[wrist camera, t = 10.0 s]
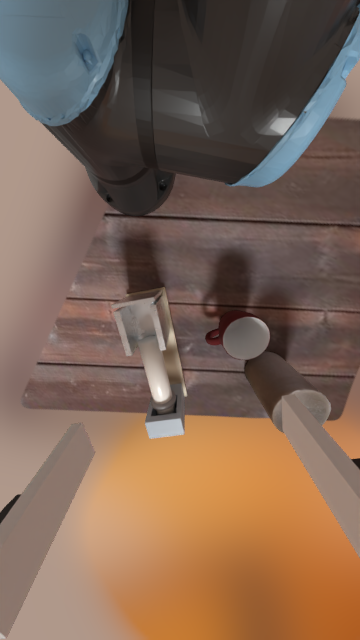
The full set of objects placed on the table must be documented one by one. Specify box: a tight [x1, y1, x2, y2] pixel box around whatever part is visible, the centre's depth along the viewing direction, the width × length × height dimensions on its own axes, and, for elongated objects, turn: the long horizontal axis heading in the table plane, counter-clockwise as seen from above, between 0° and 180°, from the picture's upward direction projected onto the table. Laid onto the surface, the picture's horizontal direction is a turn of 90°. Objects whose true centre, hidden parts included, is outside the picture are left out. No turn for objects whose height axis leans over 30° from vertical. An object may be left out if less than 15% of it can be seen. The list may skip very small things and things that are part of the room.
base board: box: [126, 287, 187, 396], centre depth 41 cm, size 28×8×1 cm, turn 10°
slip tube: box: [138, 336, 176, 415], centre depth 36 cm, size 18×5×5 cm, turn 10°
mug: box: [205, 310, 270, 360], centre depth 35 cm, size 11×8×10 cm
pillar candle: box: [245, 352, 331, 433], centre depth 36 cm, size 10×10×15 cm
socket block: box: [145, 383, 184, 439], centre depth 39 cm, size 4×7×10 cm, turn 101°
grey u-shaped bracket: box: [111, 289, 170, 356], centre depth 34 cm, size 9×7×10 cm
